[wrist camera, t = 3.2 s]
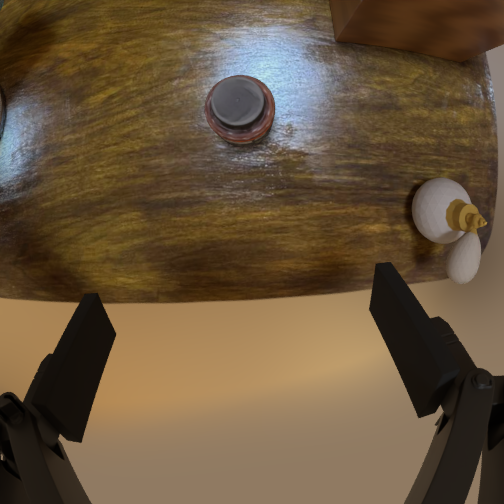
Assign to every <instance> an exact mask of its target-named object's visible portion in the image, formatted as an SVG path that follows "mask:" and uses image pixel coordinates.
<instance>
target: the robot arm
mask: <svg viewBox="0 0 504 504" xmlns="http://www.w3.org/2000/svg"><path fill="white" fill-rule="evenodd" d="M3 3H4V0H0V10H1V8H2V6H3ZM5 112H6V105H5V97H4V93H3V90H2V88H1V86H0V139H1V136H2V132H3V128H4V122H5ZM369 310H370V312H371V314H372V316H373V318H374V320H375V322H376V325H377V326H378V329H379V331H380V333H381V335H382V337H383V339H384V341H385V343H386V345H387V347H388V349H389V351H390V354H391V356H392V358H393V360H394V362H395V365H396V367H397V369H398V371H399V374H400V376H401V378H402V380H403V383H404V385H405V387H406V389H407V392H408V394H409V396H410V399H411V401H412V404H413V406H414V408H415V410H416V413H417V416H418V418H421V417H424V416H427V415H430V414H433V413H435V412H436V411H437V409H438V407H439V406H440V405H441V407H442V409H443V411H444V412H443V413H442V415H441V416H440V418H439V419H438V421H437V422H436V424H435V425H436V426H437V425H438V426H437V429H436V432H435V435H434V437H433V440H432V443H431V445H430V448H429V450H428V453H427V455H426V458H425V460H424V462H423V465H422V467H421V469H420V472H419V474H418V476H417V478H416V480H415V482H414V485H413V486H412V489H411V491H410V493H409V495H408V497H407V498H406V500H405V503H404V504H464V503H465V500H466V498H467V495H468V492H469V489H470V487H471V484H472V481H473V478H474V475H475V472H476V468H477V465H478V462H479V458H480V455H481V451H482V465H481V466H482V467H481V478H480V488H479V497H478V504H504V376H492V375H491V374H490V373H489V372H488V371H487V370H484V369H482V368H477V367H476V366H475V364H474V362H473V361H472V359H471V357H470V356H469V354H468V353H467V351H466V350H465V348H464V346H463V345H462V343H461V342H460V341H459V339H458V337H457V336H456V334H454V331H453V330H452V328H451V327H450V325H449V324H448V323H447V322H446V321H444V320H443V319H442V318H440V317H439V316H438V317H434V318H429V316H428V315H427V314H426V312H425V310H424V309H423V307H422V306H421V304H420V303H419V301H418V300H417V299H416V297H415V296H414V294H413V293H412V291H411V290H410V288H409V287H408V286H407V284H406V283H405V281H404V280H403V278H402V277H401V276H400V274H399V273H398V272H397V270H396V269H395V267H394V266H393V265H392V263H391V262H385V263H378V264H376V266H375V274H374V281H373V288H372V295H371V301H370V307H369ZM115 337H116V332H115V330H114V328H113V326H112V324H111V322H110V320H109V318H108V315H107V313H106V311H105V309H104V307H103V304H102V302H101V300H100V297H99V295H98V293H90V294H84V296H83V298H82V300H81V301H80V303H79V305H78V307H77V309H76V310H75V312H74V314H73V316H72V318H71V320H70V321H69V323H68V325H67V327H66V329H65V331H64V333H63V335H62V337H61V339H60V341H59V342H58V345H57V347H56V348H55V350H54V353H53V354H48V355H47V356H46V357H45V358H44V360H43V361H42V362H41V364H40V366H39V368H38V372H37V373H36V375H35V376H34V379H33V381H32V383H31V385H30V387H29V389H28V392H27V394H26V396H25V398H24V401H23V403H22V402H21V401H20V400H19V398H18V397H17V396H16V395H15V394H14V393H12V392H6V393H3V394H2V395H1V396H0V504H92V503H91V502H90V500H89V498H88V496H87V495H86V493H85V491H84V489H83V487H82V485H81V483H80V482H79V479H78V478H77V476H76V474H75V472H74V470H73V467H72V466H71V463H70V461H69V459H68V457H67V455H66V452H65V450H64V448H63V445H62V443H61V442H60V441H59V440H58V437H59V434H61V435H62V436H63V437H64V438H65V439H66V440H68V441H74V442H79V443H81V442H82V438H83V435H84V431H85V428H86V425H87V421H88V418H89V414H90V411H91V408H92V404H93V401H94V398H95V395H96V392H97V389H98V386H99V383H100V380H101V377H102V373H103V371H104V368H105V365H106V362H107V359H108V356H109V353H110V351H111V348H112V345H113V342H114V340H115ZM1 454H2V455H3V460H1Z"/></svg>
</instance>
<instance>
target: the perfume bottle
mask: <svg viewBox="0 0 504 504" xmlns="http://www.w3.org/2000/svg"><path fill="white" fill-rule="evenodd" d="M412 215H413V220H414V223H415V225H416V227H417V229H418V230H419V232H420V233H421V234H423V235H424V236H425V237H426V238H428V239H429V240H431V241H432V242H436V243H450V242H453V241H456V240H457V239H458V240H457V241H456V242H455V244H454V245H453V247H452V248H451V250H450V252H449V254H448V257H447V261H446V271H447V274H448V276H449V278H450V279H451V280H452V281H454V282H456V283H459V284H464V283H467V282H469V281H470V280H471V279H473V277H474V276H475V274H476V272H477V270H478V267H479V262H480V257H481V246H480V241H479V238H478V235H477V230H476V228H479V227H483V226H484V225H486V224H487V222H485V219H484V218H482V216H481V215H480V214H479V213H478V209H477V208H476V207H475V206H474V205H472V204H471V201H470V199H469V196H468V194H467V193H466V191H465V190H464V189H463V188H462V186H461V185H460V184H458V183H456V182H455V181H453V180H450V179H447V178H434V179H432V180H429V181H426V182H425V183H424V184H423V185H422V186H421V187H420V188H419V189H418V190H417V191H416V194H415V196H414V198H413V203H412ZM465 232H467V233H465Z"/></svg>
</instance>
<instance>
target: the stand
mask: <svg viewBox="0 0 504 504" xmlns="http://www.w3.org/2000/svg"><path fill="white" fill-rule="evenodd" d="M329 2H330V8H331V14H332V20H333V27H334V34H335V41H337V42H349V43H359V44H367V45H375V46H382V47H389V48H395V49H401V50H406V51H412V52H417V53H422V54H426V55H431V56H435V57H439V58H443V59H447V60H451V61H455V62H458V63H460V62H462V61H465V60H467V59H469V58H472V57H474V56H476V55H479V54H481V53H483V52H486V51H488V50H491V49H493V48H495V47H498V46H501V45H503V44H504V0H329Z"/></svg>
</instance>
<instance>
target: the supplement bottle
mask: <svg viewBox="0 0 504 504" xmlns="http://www.w3.org/2000/svg"><path fill="white" fill-rule="evenodd" d="M205 115H206V118H207V121H208V123H209V125H210V127H211V128H212V129H213V130H214V131H215V132H216V133H217V134H218V135H219V136H221V137H222V138H223V139H224V140H226V141H227V142H228V143H230V144H232V145H235V146H239V147H249V146H253V145H256V144H258V143H260V142H261V141H262V140H263V139H264V138H265V137H266V136H267V135H268V133H269V132H270V130H271V126H272V123H273V119H274V115H275V102H274V98H273V95H272V93H271V91H270V90H269V89H268V87H267V86H266V85H265V84H264V83H262V82H261V81H260V80H258V79H256V78H253V77H250V76H245V75H236V76H231V77H228V78H225V79H223V80H221V81H220V82H218V83H217V84H216V85H215V86H214V87H213V88H212V89H211V90H210V92H209V94H208V96H207V98H206V102H205Z"/></svg>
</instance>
